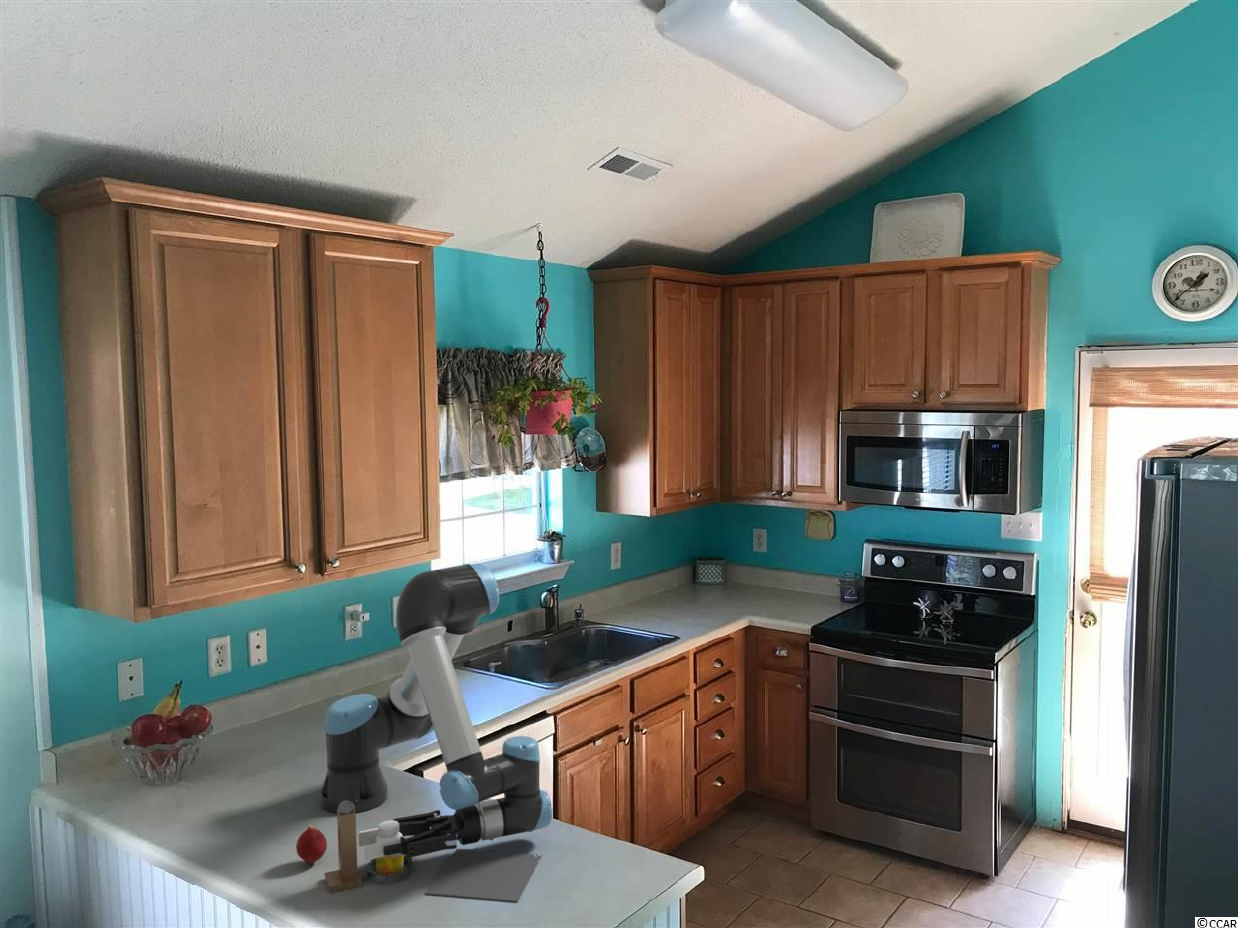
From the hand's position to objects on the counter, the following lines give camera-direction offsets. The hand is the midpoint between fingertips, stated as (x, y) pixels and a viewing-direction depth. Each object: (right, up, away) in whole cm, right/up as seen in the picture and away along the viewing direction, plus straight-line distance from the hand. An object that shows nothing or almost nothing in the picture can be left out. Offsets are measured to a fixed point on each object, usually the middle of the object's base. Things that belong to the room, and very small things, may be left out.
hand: (362, 845), depth 189 cm
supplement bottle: (+5, -6, +3) cm, 8 cm away
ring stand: (+1, -6, +1) cm, 7 cm away
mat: (+24, -6, +1) cm, 25 cm away
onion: (-12, -6, +7) cm, 15 cm away
